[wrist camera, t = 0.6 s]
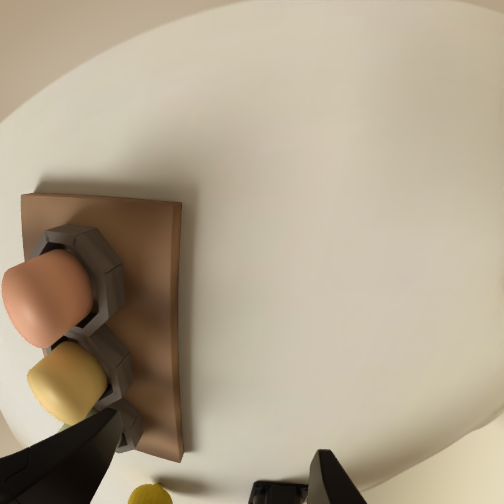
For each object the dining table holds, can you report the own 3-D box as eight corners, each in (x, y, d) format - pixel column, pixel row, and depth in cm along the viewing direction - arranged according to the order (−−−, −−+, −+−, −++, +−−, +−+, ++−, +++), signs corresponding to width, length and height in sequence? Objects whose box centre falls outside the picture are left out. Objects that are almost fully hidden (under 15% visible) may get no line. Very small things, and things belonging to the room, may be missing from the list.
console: (183, 452, 25) (174, 479, 21) (73, 414, 26) (58, 433, 22) (181, 202, 18) (157, 210, 14) (32, 192, 19) (0, 198, 16)
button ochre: (112, 401, 19) (89, 435, 15) (64, 382, 19) (39, 409, 15) (101, 352, 18) (71, 384, 14) (51, 333, 18) (19, 359, 14)
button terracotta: (97, 327, 17) (63, 359, 13) (46, 310, 17) (11, 334, 14) (90, 254, 16) (47, 276, 12) (37, 244, 16) (-4, 261, 12)
